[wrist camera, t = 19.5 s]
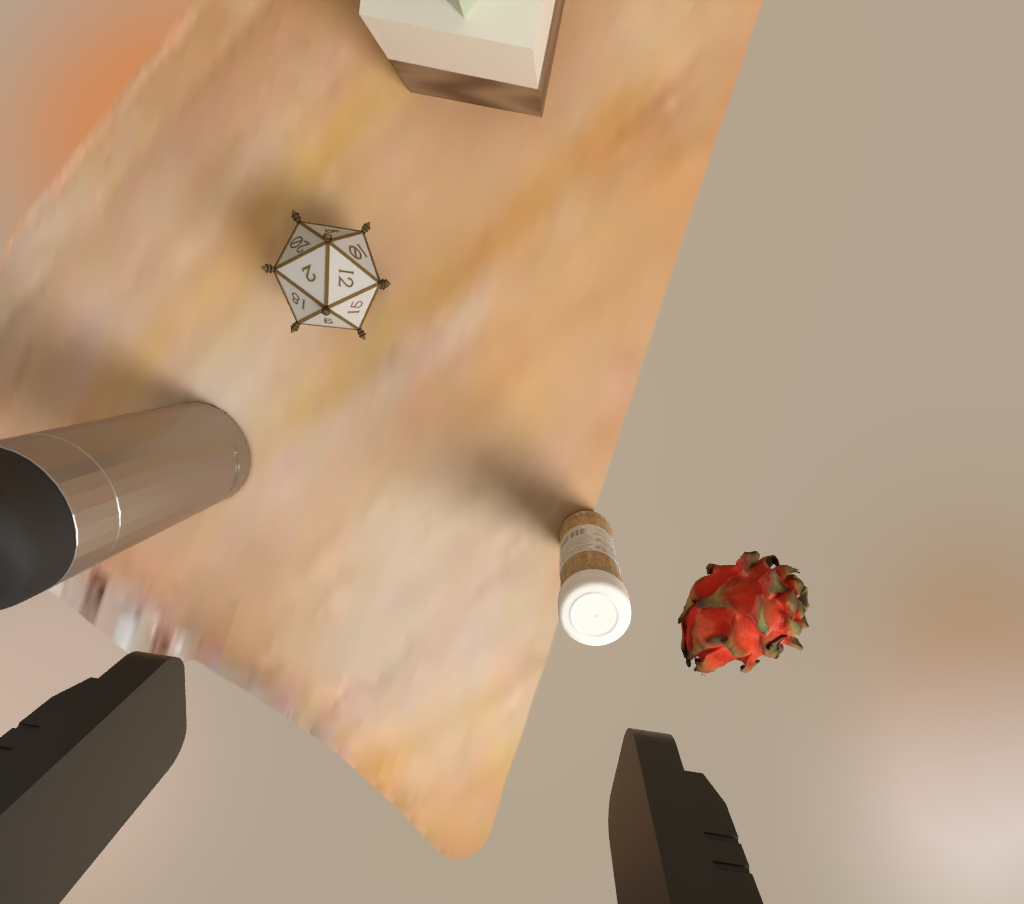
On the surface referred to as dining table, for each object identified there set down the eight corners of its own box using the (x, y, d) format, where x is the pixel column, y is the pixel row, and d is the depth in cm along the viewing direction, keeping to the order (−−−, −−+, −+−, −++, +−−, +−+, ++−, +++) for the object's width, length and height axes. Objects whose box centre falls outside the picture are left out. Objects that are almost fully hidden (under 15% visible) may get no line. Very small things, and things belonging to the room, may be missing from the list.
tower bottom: (411, 93, 39) (389, 59, 34) (432, -67, 36) (412, -128, 32) (542, 118, 38) (539, 87, 33) (573, -43, 36) (574, -101, 31)
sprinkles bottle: (570, 564, 46) (572, 657, 33) (551, 518, 45) (546, 595, 32) (620, 547, 45) (642, 636, 32) (602, 500, 44) (617, 572, 31)
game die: (347, 293, 46) (226, 277, 39) (384, 206, 41) (252, 169, 34) (391, 364, 43) (267, 361, 35) (437, 278, 38) (303, 254, 31)
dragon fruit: (783, 538, 45) (681, 617, 50) (738, 514, 40) (628, 604, 45) (858, 624, 39) (734, 705, 44) (816, 609, 34) (680, 702, 39)
